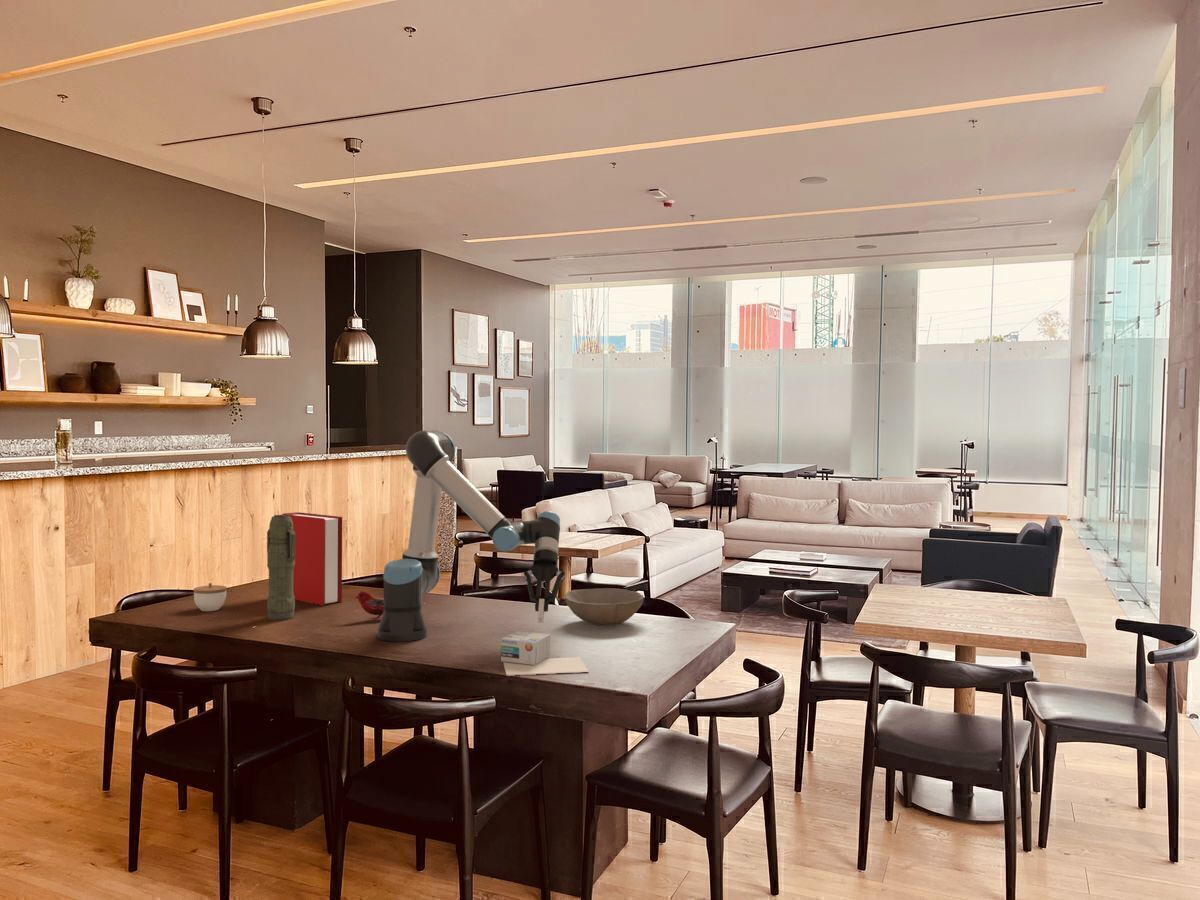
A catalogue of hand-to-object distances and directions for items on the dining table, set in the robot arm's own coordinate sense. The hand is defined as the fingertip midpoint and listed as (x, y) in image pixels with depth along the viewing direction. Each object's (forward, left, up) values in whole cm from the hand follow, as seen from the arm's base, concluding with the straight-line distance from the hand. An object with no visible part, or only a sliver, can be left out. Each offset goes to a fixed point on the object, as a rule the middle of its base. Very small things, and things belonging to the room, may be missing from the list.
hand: (540, 619), depth 259 cm
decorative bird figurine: (-49, +50, -9) cm, 70 cm away
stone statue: (-83, +57, -9) cm, 101 cm away
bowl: (+25, +34, -9) cm, 43 cm away
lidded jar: (-110, +74, -9) cm, 132 cm away
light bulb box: (-2, -6, -5) cm, 8 cm away
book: (-78, +89, -9) cm, 118 cm away
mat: (-1, -18, -9) cm, 20 cm away
